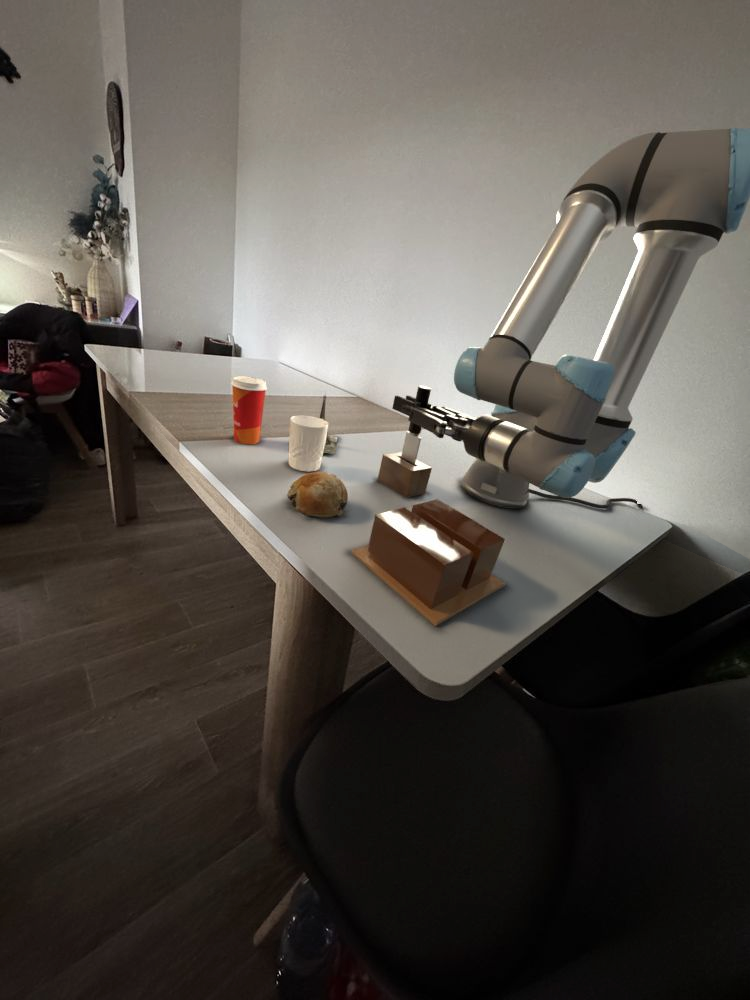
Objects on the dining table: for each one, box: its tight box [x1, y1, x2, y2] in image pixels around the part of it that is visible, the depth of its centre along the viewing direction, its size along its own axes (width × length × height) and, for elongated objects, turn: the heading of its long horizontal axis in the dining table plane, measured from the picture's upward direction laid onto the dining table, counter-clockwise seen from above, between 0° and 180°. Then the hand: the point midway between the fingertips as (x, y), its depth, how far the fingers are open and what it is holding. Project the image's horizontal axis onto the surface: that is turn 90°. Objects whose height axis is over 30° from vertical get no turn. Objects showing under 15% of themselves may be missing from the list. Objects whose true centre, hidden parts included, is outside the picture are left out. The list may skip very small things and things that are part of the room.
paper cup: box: [230, 375, 268, 445], centre depth 89 cm, size 8×8×14 cm
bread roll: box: [286, 471, 349, 519], centre depth 69 cm, size 10×10×8 cm
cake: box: [351, 498, 506, 627], centre depth 57 cm, size 17×16×8 cm
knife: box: [401, 385, 432, 466], centre depth 80 cm, size 4×3×19 cm, turn 41°
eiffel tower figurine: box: [319, 391, 338, 455], centre depth 96 cm, size 15×10×13 cm
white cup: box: [288, 414, 330, 473], centre depth 83 cm, size 8×8×10 cm
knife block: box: [377, 451, 433, 499], centre depth 84 cm, size 9×6×6 cm, turn 41°
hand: (400, 402), depth 81 cm, fingers closed on knife, 3 cm apart
